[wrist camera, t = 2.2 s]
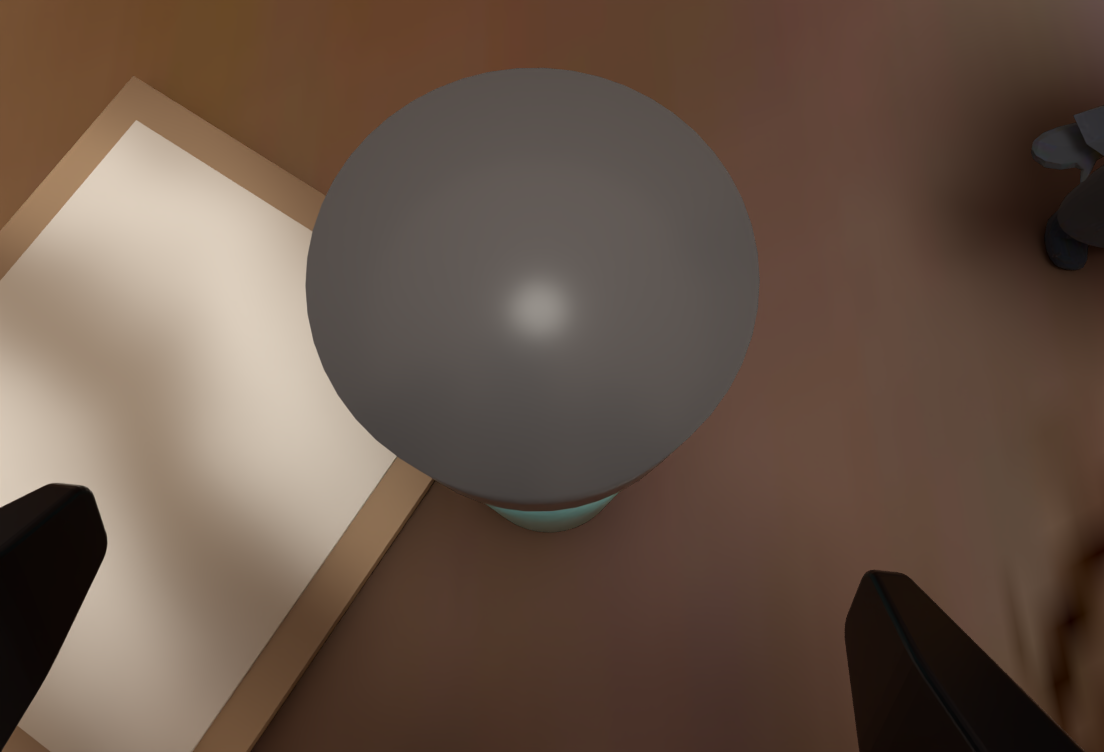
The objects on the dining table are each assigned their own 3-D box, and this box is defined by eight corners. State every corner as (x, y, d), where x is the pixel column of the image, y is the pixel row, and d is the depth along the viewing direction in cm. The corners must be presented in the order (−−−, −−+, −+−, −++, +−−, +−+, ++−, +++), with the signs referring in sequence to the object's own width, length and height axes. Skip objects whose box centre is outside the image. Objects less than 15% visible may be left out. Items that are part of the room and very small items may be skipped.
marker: (572, 568, 19) (603, 594, 6) (440, 480, 19) (213, 332, 7) (656, 434, 19) (842, 206, 7) (526, 352, 20) (473, -4, 7)
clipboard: (159, 885, 17) (147, 894, 17) (-259, 553, 19) (-281, 553, 18) (536, 331, 20) (535, 325, 20) (141, 84, 22) (131, 73, 21)
